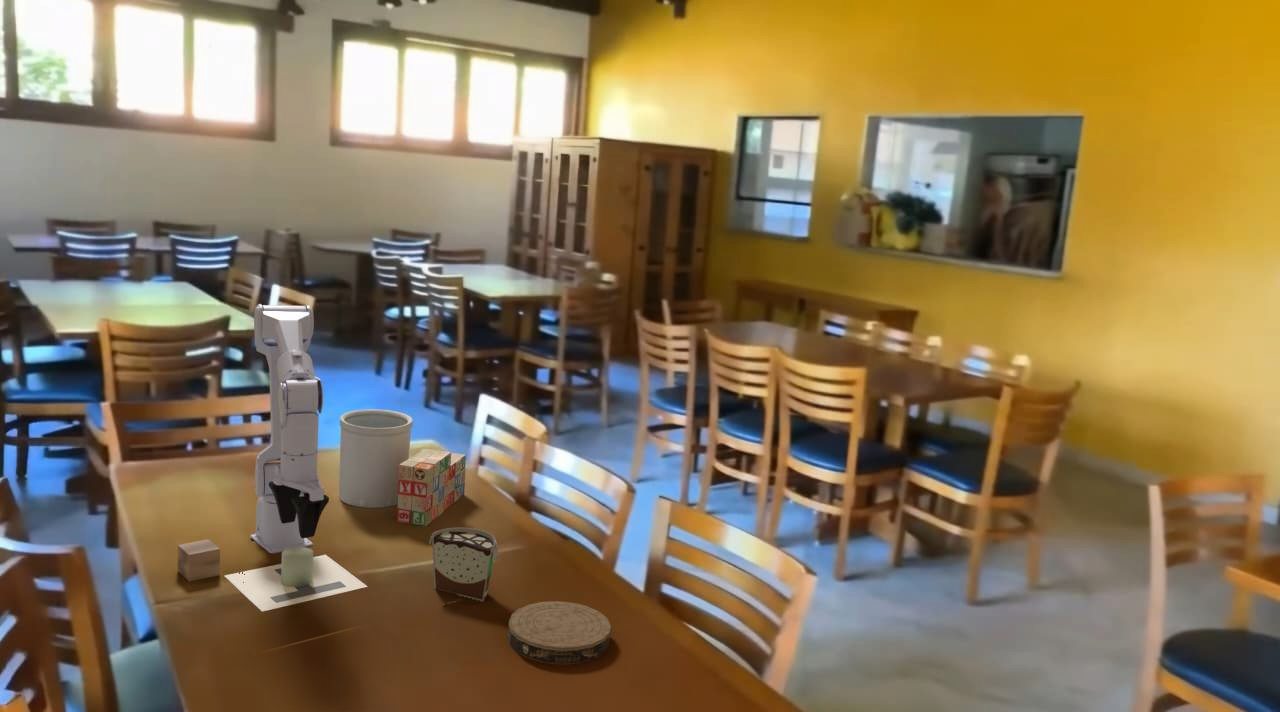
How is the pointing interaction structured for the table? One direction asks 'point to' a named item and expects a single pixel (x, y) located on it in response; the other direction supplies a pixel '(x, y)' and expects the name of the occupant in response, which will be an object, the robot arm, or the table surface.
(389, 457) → the utensil holder
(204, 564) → the wooden cube
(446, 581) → the food container
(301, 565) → the sage cylinder
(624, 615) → the table surface
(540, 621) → the beige round flat disc
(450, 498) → the stack of blocks
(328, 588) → the board
